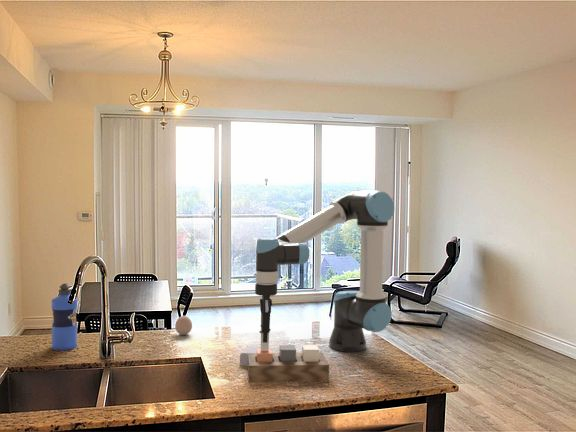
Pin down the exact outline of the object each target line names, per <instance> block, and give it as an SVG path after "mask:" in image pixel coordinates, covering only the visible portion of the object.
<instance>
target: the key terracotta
mask: <svg viewBox="0 0 576 432" xmlns="http://www.w3.org/2000/svg"><path fill="white" fill-rule="evenodd" d="M273 353H274V352H273V350H272V348H269V351H261V350H260V349H257V360H256V362H273Z"/></svg>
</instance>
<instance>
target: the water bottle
mask: <svg viewBox="0 0 576 432" xmlns="http://www.w3.org/2000/svg"><path fill="white" fill-rule="evenodd" d="M59 288H60V289H58V295H57V296H55V297H54V298H52V299H51V311H52V317H53V319H52V325H51V349H52V351H53V350H54V351H59V352H60V351H70V350H73V349H75V348H77V347H78V346H77V345H78V322H77V310H78V305H79V303H78V302H79V301H78V297H76V299H75V300H74V301H73V303H72V304H70V303H68V301H69V296H70V295H71V292H72V291H71V286H70V285H69V284H68V283H62V284H61V285H60V286H59Z"/></svg>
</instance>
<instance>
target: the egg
mask: <svg viewBox="0 0 576 432" xmlns="http://www.w3.org/2000/svg"><path fill="white" fill-rule="evenodd" d="M174 325H175V326H174V329H175V331H176V332H177V334H179V335H181V336H186V335H189V334H190V332H192V329H193V322H192V320H191V319H190V317H188V316H187V315H181V316H179V317H178V318H177V320H176V322H175V324H174Z"/></svg>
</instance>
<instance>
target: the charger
mask: <svg viewBox="0 0 576 432" xmlns="http://www.w3.org/2000/svg"><path fill="white" fill-rule="evenodd" d="M260 348H261V346H257V345H256V346H255V345H248V346H246V347H245V349H243V351H242V352H241V353H240V354H239V365H240V366H247V365H248V353H257V349H260Z"/></svg>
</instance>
